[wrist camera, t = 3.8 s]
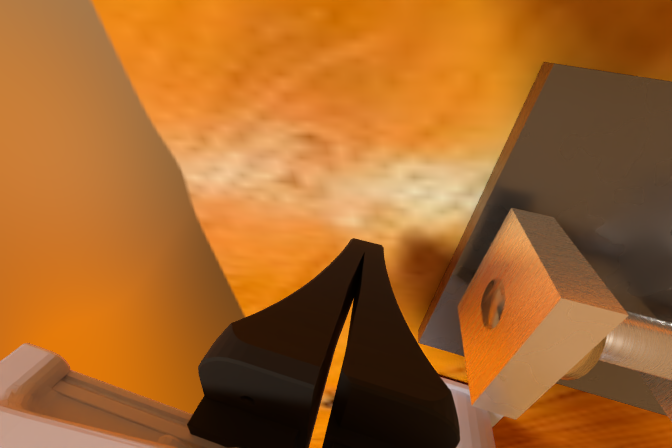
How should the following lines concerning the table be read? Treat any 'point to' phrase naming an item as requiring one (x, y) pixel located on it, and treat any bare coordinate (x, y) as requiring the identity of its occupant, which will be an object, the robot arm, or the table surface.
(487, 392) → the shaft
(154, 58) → the table surface
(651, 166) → the bearing bracket
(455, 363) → the table surface
